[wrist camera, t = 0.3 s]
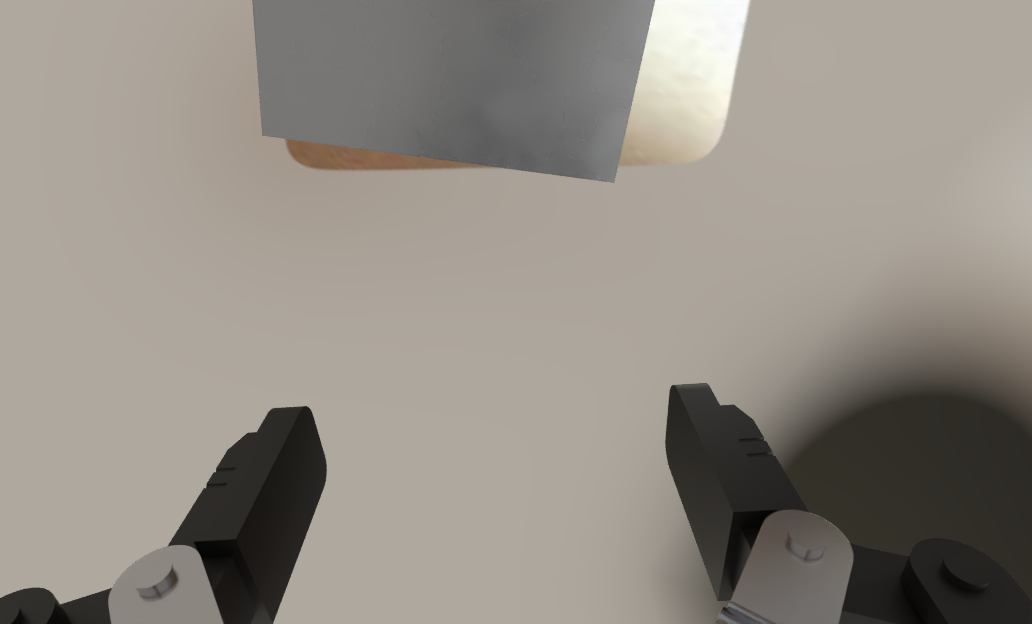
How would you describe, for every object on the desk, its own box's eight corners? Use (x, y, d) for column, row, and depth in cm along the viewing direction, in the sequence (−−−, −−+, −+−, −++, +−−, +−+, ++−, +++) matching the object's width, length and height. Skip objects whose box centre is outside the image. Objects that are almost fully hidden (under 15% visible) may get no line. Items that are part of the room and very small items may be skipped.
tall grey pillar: (386, -32, 35) (246, -82, 16) (576, -2, 36) (658, -14, 17) (383, 72, 38) (262, 135, 19) (559, 97, 39) (614, 182, 20)
